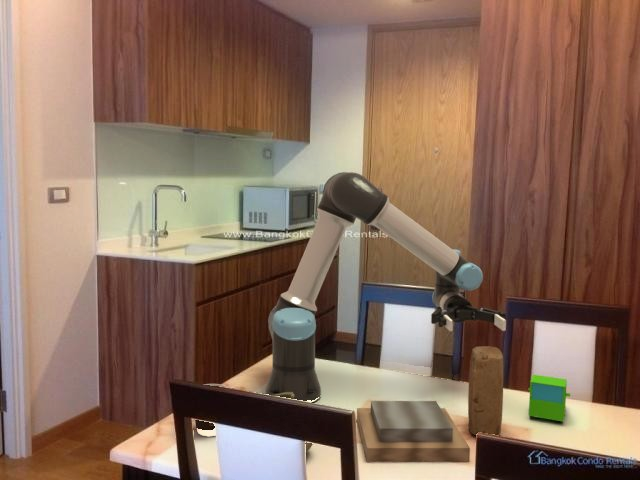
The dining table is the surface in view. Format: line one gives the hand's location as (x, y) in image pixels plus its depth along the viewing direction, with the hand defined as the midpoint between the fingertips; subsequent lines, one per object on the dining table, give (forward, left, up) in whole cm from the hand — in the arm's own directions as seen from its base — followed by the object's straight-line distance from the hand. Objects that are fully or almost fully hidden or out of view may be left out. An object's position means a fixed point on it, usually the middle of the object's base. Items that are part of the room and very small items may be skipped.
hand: (477, 325), depth 150 cm
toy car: (+19, 0, -23) cm, 30 cm away
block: (-1, -10, -23) cm, 25 cm away
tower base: (-20, -15, -23) cm, 34 cm away
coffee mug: (-65, -10, -23) cm, 69 cm away
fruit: (-47, -22, -23) cm, 56 cm away
